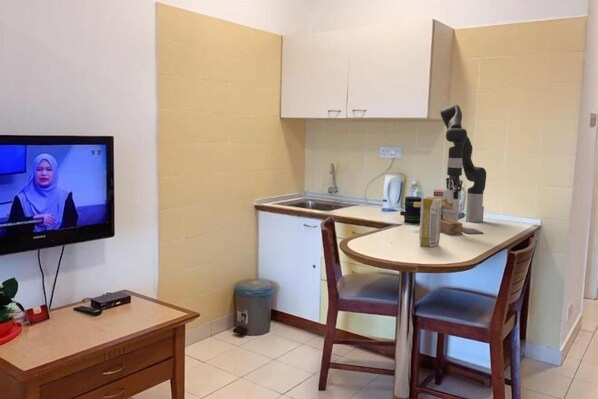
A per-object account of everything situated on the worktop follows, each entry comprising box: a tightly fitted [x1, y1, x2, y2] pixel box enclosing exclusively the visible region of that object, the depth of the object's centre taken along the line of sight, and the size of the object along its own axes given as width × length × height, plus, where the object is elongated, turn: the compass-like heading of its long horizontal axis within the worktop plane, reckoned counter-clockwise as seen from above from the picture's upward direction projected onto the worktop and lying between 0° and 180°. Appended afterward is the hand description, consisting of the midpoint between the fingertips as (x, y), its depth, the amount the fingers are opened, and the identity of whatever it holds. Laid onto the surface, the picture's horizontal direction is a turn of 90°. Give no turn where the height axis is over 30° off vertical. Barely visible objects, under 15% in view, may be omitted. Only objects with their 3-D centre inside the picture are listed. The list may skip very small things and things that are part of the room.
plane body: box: [440, 217, 464, 236], centre depth 287 cm, size 9×21×6 cm, turn 11°
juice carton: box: [418, 195, 442, 248], centre depth 249 cm, size 9×8×24 cm
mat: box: [462, 228, 485, 235], centre depth 285 cm, size 9×10×1 cm
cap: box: [446, 188, 462, 201], centre depth 279 cm, size 6×5×5 cm
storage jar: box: [403, 196, 423, 225], centre depth 311 cm, size 10×10×15 cm
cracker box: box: [432, 188, 460, 222], centre depth 304 cm, size 14×6×21 cm, turn 62°
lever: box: [413, 202, 445, 218], centre depth 291 cm, size 18×4×9 cm, turn 99°
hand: (453, 198), depth 279 cm, fingers closed on cap, 5 cm apart
